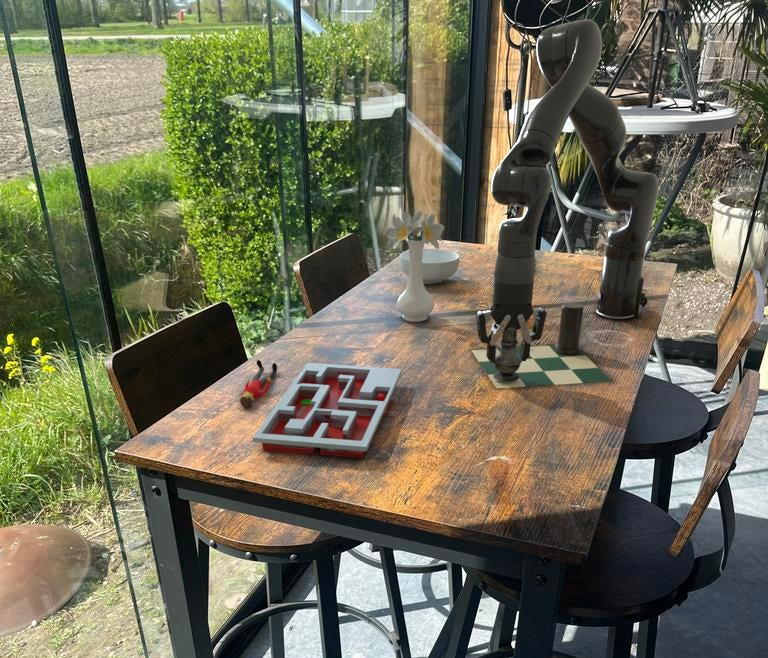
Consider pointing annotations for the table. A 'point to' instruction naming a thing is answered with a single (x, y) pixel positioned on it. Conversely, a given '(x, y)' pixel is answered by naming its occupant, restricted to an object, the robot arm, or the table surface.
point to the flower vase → (415, 261)
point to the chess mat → (545, 368)
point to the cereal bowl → (433, 264)
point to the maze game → (330, 410)
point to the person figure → (256, 386)
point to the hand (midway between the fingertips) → (507, 360)
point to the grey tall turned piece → (507, 357)
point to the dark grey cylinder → (570, 329)
